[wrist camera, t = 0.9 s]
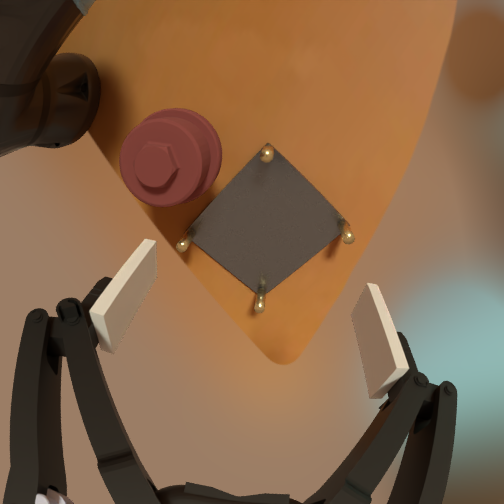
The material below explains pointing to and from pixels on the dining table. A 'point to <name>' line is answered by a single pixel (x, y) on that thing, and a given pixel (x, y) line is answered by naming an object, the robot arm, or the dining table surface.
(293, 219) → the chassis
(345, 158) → the dining table surface
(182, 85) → the dining table surface
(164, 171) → the mechanical component
